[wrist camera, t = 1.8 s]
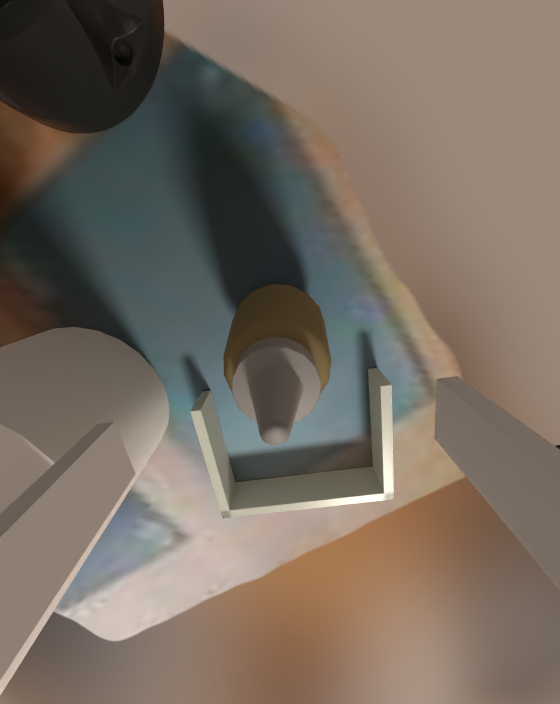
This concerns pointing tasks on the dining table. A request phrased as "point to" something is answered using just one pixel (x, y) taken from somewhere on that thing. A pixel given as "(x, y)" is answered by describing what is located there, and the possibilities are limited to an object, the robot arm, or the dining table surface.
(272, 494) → the cream u-shaped frame
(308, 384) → the squeeze bottle
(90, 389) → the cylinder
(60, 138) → the dining table surface
